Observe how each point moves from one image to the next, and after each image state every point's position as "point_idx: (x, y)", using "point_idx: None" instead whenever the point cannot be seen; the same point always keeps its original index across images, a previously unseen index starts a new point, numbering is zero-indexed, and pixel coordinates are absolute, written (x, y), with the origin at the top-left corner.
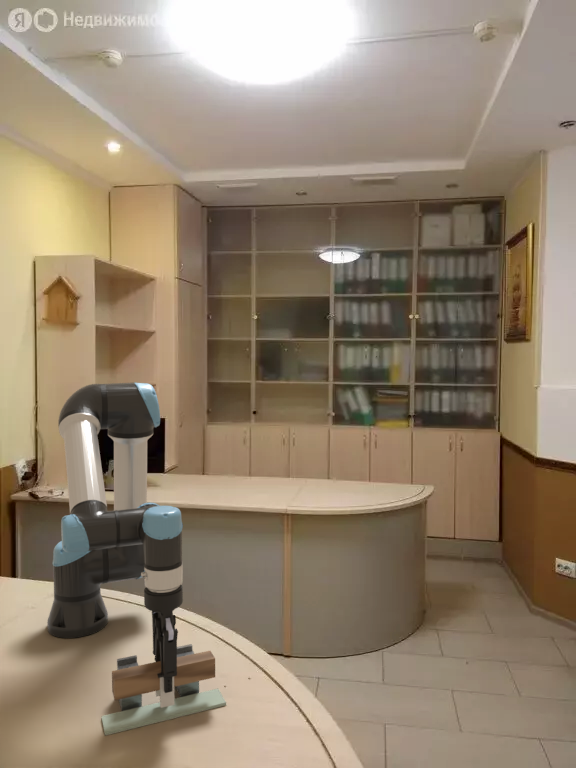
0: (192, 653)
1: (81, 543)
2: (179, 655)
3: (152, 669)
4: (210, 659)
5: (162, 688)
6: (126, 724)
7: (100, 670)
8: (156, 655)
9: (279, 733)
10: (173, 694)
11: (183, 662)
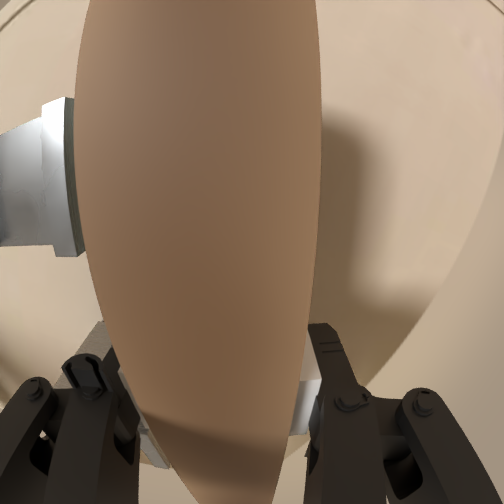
0: (2, 144)
1: None
2: (5, 223)
3: (252, 471)
4: None
5: None
6: None
7: (26, 355)
8: (138, 474)
9: (450, 15)
10: None
11: (244, 321)
